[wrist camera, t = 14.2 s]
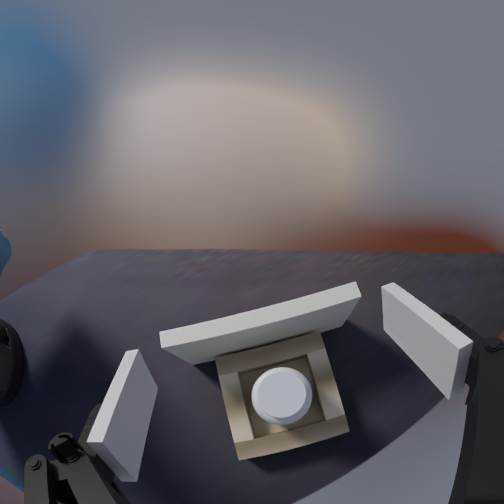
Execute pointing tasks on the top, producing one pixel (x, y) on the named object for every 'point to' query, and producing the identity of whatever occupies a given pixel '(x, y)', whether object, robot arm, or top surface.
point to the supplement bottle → (281, 395)
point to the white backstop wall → (262, 325)
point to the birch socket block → (272, 435)
